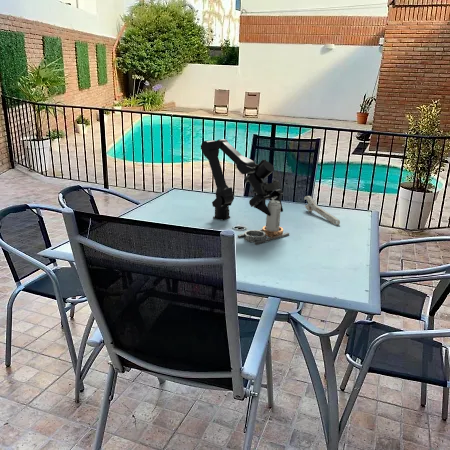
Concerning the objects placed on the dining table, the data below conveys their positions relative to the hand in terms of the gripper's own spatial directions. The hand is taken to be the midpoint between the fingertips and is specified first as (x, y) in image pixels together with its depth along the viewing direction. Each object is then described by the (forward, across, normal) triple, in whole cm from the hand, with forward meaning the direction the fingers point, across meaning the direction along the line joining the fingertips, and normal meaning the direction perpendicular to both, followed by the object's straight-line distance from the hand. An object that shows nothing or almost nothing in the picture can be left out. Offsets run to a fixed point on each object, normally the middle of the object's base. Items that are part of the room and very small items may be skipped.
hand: (276, 213), depth 189 cm
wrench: (+7, +40, +8) cm, 42 cm away
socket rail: (+6, -6, +8) cm, 12 cm away
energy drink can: (+6, 0, +8) cm, 10 cm away
